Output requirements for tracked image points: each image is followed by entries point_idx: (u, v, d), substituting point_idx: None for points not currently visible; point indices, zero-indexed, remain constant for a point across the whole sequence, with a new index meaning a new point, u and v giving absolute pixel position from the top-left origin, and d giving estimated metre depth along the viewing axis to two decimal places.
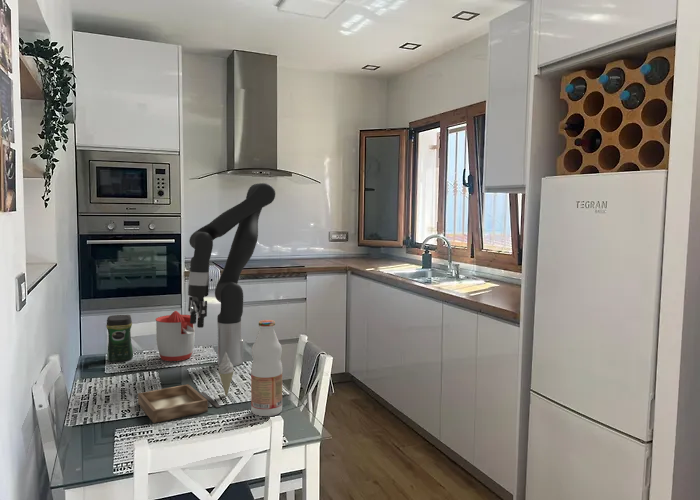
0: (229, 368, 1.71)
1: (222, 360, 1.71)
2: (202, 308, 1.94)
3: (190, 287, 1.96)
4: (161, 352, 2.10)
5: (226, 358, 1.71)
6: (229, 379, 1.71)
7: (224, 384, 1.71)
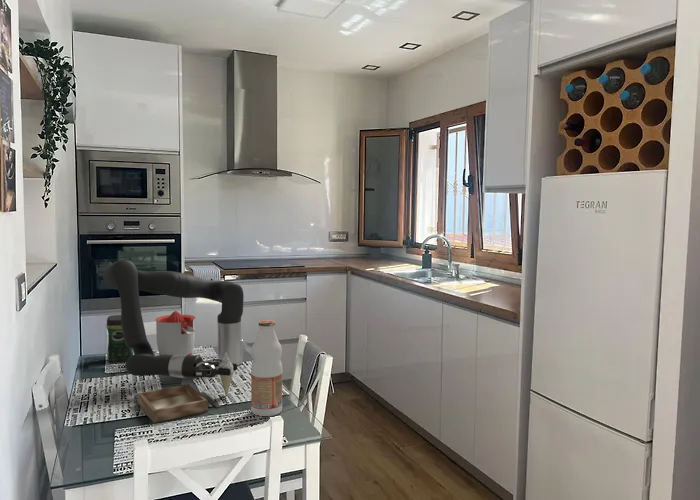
0: None
1: (222, 360, 1.71)
2: (204, 375, 1.67)
3: None
4: (161, 352, 2.10)
5: (226, 358, 1.71)
6: (229, 379, 1.71)
7: (224, 384, 1.71)
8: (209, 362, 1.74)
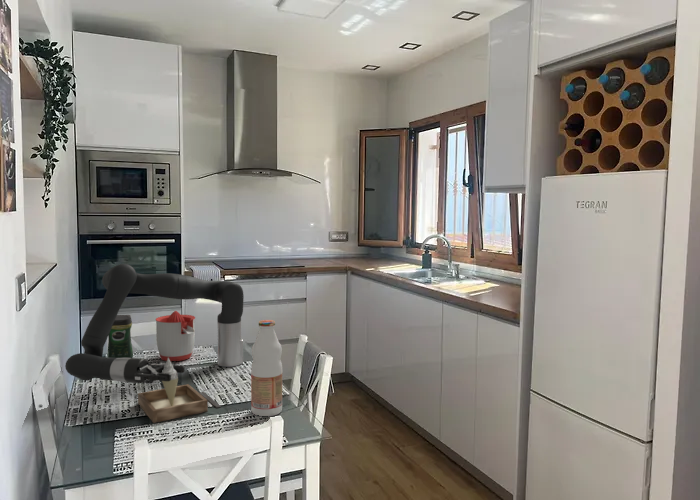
0: (172, 374, 1.61)
1: (165, 367, 1.62)
2: (142, 380, 1.55)
3: (131, 382, 1.62)
4: (161, 352, 2.10)
5: (169, 364, 1.62)
6: (173, 386, 1.61)
7: (168, 392, 1.60)
8: (154, 365, 1.63)
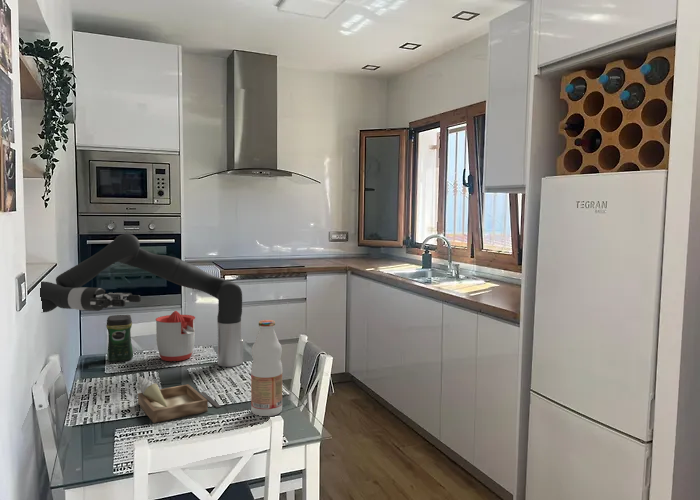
0: None
1: None
2: (97, 305, 1.62)
3: None
4: (161, 352, 2.10)
5: (139, 381, 1.64)
6: (150, 395, 1.60)
7: None
8: (111, 294, 1.70)
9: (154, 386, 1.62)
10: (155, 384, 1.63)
